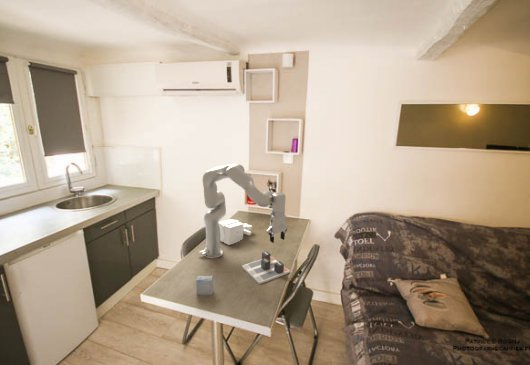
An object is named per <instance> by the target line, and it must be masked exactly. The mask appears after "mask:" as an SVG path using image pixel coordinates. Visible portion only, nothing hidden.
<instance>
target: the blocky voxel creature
mask: <svg viewBox="0 0 530 365" xmlns="http://www.w3.org/2000/svg"><path fill="white" fill-rule="evenodd" d="M219 226H220V242H221V243H223V242H224V243H223V244H225V245H228V246H231V245H233V244H235V243H238V241H239V242H241V241H240V240H242V239H244V235H247V236H251V235H252V231H250V230H252V229H253V225H251V224H249V223H246V222H245V223H242V222H241V221H240V220H238V219H233V218H229V219H227V220H222V221H221V220H220V221H219ZM242 241H243V240H242Z"/></svg>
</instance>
